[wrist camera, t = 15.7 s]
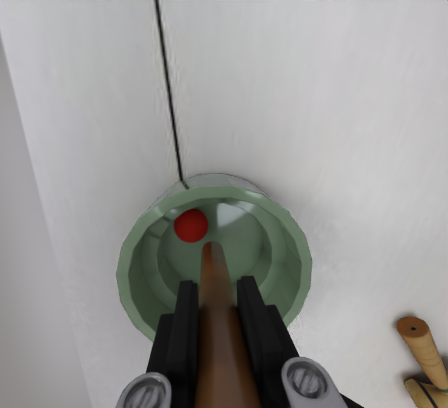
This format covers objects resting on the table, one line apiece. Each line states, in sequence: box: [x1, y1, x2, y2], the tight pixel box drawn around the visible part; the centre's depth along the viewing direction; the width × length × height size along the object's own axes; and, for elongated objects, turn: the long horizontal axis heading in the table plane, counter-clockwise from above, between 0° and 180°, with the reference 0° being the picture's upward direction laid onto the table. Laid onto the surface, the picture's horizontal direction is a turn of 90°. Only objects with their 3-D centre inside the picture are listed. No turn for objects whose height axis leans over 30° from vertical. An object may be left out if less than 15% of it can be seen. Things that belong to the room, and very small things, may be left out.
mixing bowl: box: [116, 173, 312, 343], centre depth 19 cm, size 14×14×7 cm
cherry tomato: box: [174, 208, 208, 243], centre depth 20 cm, size 3×3×3 cm
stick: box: [194, 241, 263, 408], centre depth 12 cm, size 2×2×14 cm
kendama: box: [397, 317, 448, 408], centre depth 27 cm, size 8×6×18 cm
